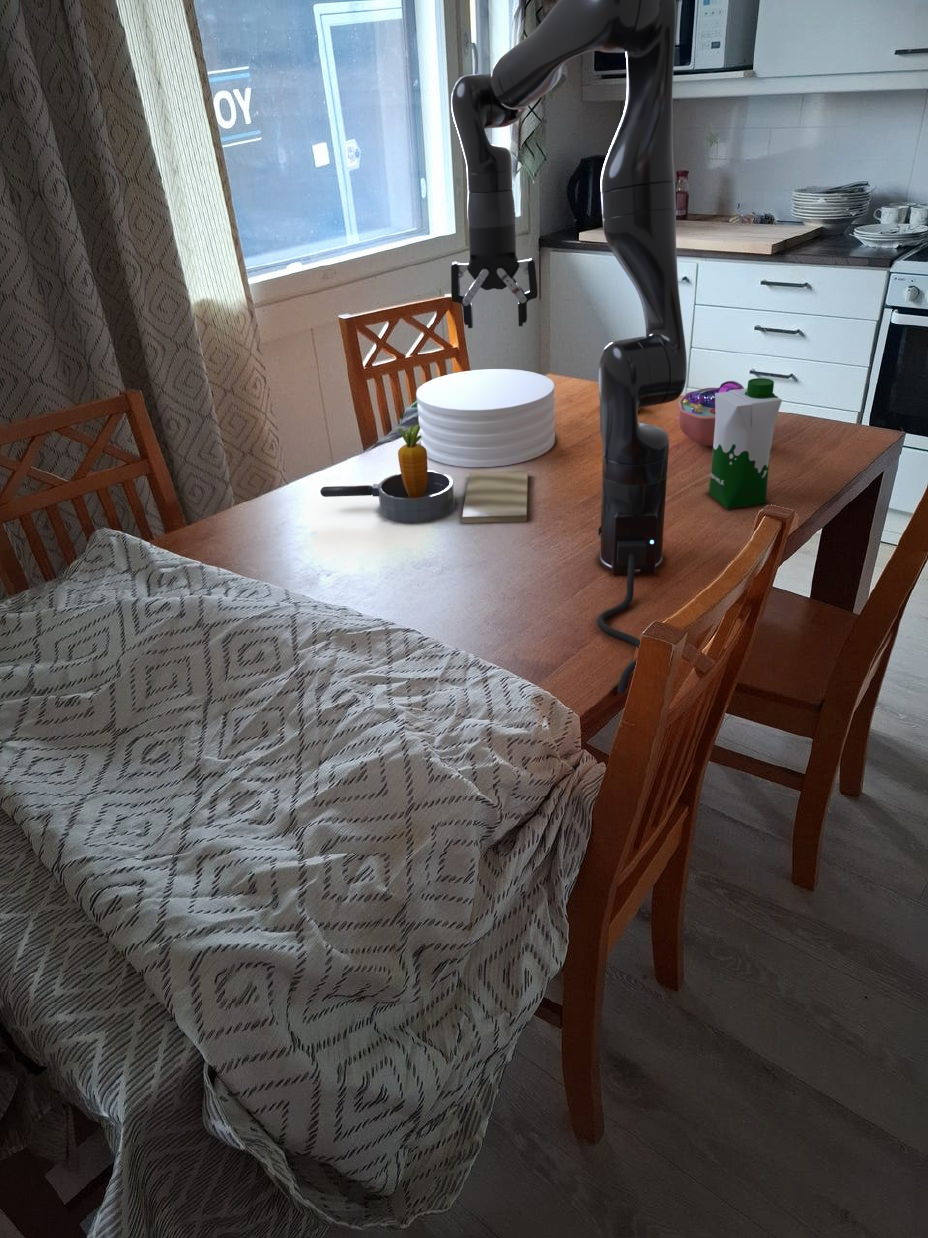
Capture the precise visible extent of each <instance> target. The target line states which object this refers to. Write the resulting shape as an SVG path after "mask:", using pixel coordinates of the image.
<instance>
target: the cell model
mask: <svg viewBox="0 0 928 1238" xmlns="http://www.w3.org/2000/svg"><path fill="white" fill-rule="evenodd" d="M739 389H745V387H744V386H743V385H742V384H741V383H740V382H738V381H735V380H728V381H724V382H722V383H721V384H720V385H719V387H705V388H701V389H698V390H695V391H689V392H686V393H684V394H683V395H682V396H680V397H679V398H678V401H677V409H678V410H677V412H678V426H679V428H680V430H681V432H682V433H683V434H684V435H686V436H687V437H688V438H689V439H690V440H692V441H693V442H695V443H696V444H699V445H704V446H710V447H713V444H714V432H715V393H721V392H729V390H739Z"/></svg>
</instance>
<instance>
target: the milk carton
mask: <svg viewBox="0 0 928 1238" xmlns="http://www.w3.org/2000/svg"><path fill="white" fill-rule="evenodd" d="M774 386H775V381H774V380H773V379H770V378H764V377H757V378H756V377H755V378H751V379H749V380H748V381H747V386H746V387H747V388H744V389H739V390H729V392H721V393H715V432H714V444H713V446H712V455H711V468H710V476H709V477H710V478H709V485H708V495H709V496H711V497H712V498H713V499H714V500H715V501H716V502H718V503H719V504H720V505H722V506H723V507H724V508H726V509H727V510H731V509H736V508H744V507H749V506H756V505H761V504H766V503H767V494H768V482H769V481H768V480H769V470H770V461H771V455H772V447H773V438H774V430H775V425H776V424H775V423H776V420H777V418H778V417H777V416H778V414H779V411H780V408H781V405H782V402H783V400H782V399H781V398H780V397H779V396H777V395H776V394H775V393H774Z"/></svg>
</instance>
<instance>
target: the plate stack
mask: <svg viewBox="0 0 928 1238" xmlns="http://www.w3.org/2000/svg"><path fill="white" fill-rule="evenodd" d="M415 397H416V402H417V405H416V408H417V414H418V419H417V420H418V425H419V426H420V427H421V428H420V430H419V435H421V436H422V437H421V438H420V444H421V445H422V446H423V447H425V448H426V451H427V458H428V459H430V460H432V461H435V462H438V463H440V464H444V465H449V466H454V467H463V468H464V467H465V468H494V467H503V466H510V465H514V464H515V465H516V464H519V463H523V462H527V461H530V460H533V459H536V458H538V457H540V456H542V455H544V454H545V453H548V452H549V451H550V450H551V449H552V448H553V446H554V445H555V442H556V433H555V431H556V425H555V424H556V422H555V414H556V413H555V412H556V410H555V405H556V403H555V400H556V399H555V398H556V397H555V383H554V381H553V380H552V379H551V378H549V377H547V376H545V375H543V374H540V373H538V372H533V371H529V370H522V369H511V368H510V369H509V368H486V369H474V370H473V369H472V370H466V371H459V372H454V373H449V374H445V375H441V376H439V377H435V378H433V379H431V380H428V381H427V382H425V383H423V384H422V385H420V386H419V387H418V388H417V389H416V392H415Z"/></svg>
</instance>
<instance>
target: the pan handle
mask: <svg viewBox="0 0 928 1238" xmlns="http://www.w3.org/2000/svg"><path fill="white" fill-rule="evenodd" d="M378 486H379V483H373V484H372V485H371V484H367V485H366V484H365V485H364V484H363V485H336V486H335V485H334V486H332V485H331V486H323V487H321V488H320V495H321V496H322V497H325V498H333V497H334V498H335V497H336V498H337V497H366V496H372V497H379V495H378Z"/></svg>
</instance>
